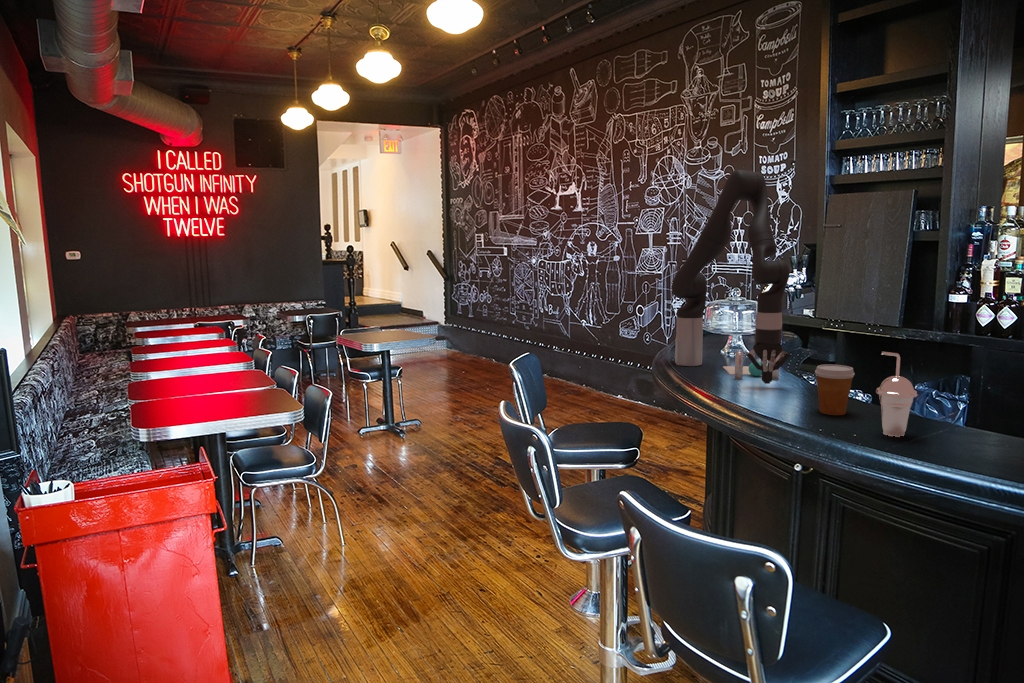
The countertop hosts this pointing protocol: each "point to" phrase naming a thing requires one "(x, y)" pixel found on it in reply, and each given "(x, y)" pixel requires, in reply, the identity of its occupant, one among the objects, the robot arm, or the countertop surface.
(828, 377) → the disposable coffee cup
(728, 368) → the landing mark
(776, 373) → the post
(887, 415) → the cup with straw
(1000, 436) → the countertop surface
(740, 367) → the post
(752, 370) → the ball
